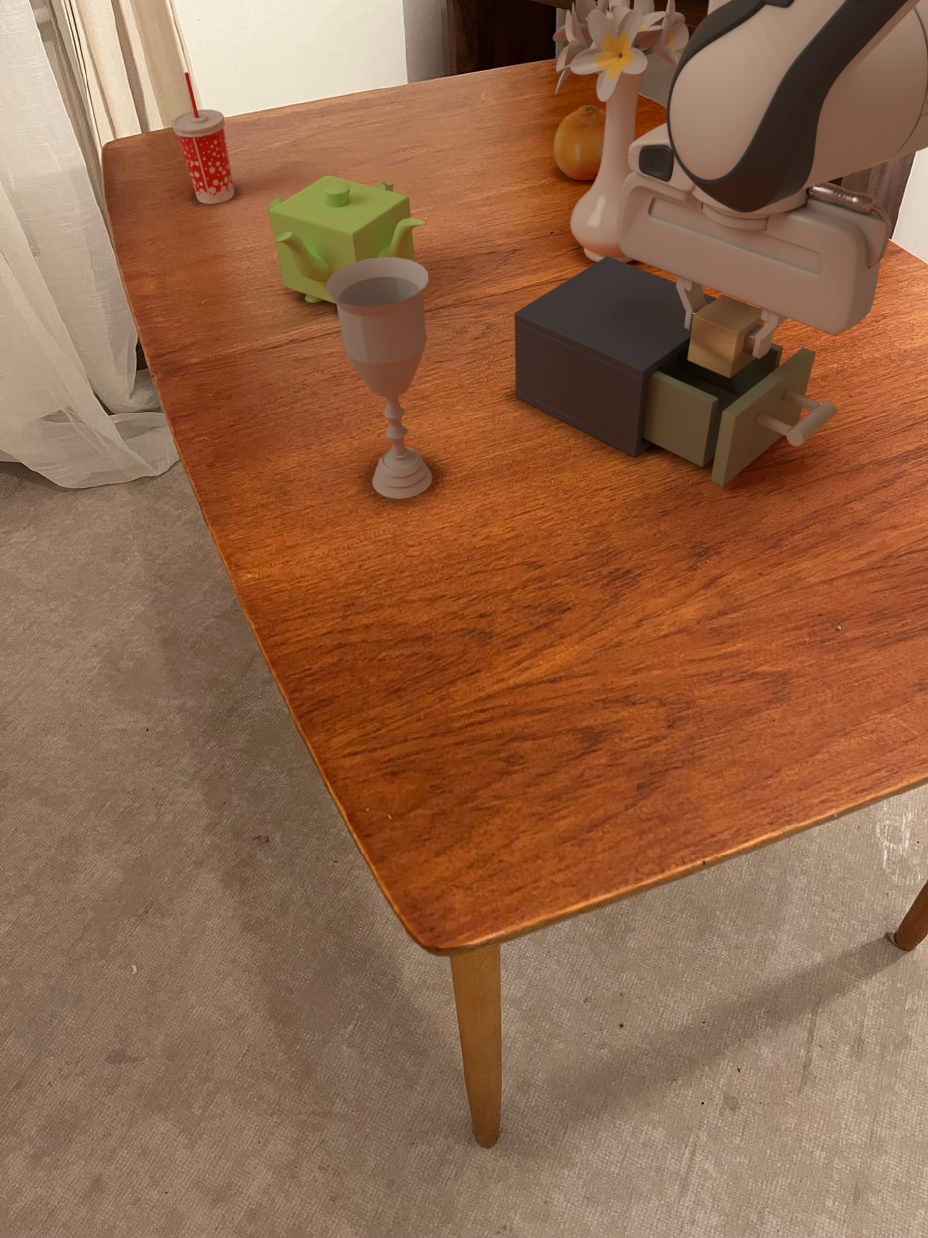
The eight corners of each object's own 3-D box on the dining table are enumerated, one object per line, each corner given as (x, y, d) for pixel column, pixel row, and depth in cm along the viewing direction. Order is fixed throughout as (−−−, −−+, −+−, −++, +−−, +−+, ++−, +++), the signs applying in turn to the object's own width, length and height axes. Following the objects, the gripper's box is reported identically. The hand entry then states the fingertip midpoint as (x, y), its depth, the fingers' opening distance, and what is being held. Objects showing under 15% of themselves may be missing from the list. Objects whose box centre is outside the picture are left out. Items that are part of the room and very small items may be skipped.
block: (758, 356, 78) (767, 311, 75) (729, 378, 76) (738, 332, 73) (715, 338, 80) (723, 294, 77) (687, 360, 78) (693, 315, 75)
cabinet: (720, 391, 89) (735, 304, 82) (635, 458, 83) (643, 370, 77) (601, 339, 95) (607, 255, 89) (515, 397, 90) (514, 312, 83)
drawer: (843, 441, 82) (864, 370, 77) (768, 510, 76) (785, 439, 71) (678, 368, 90) (687, 300, 85) (600, 426, 85) (604, 357, 80)
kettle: (432, 317, 100) (422, 209, 91) (293, 340, 98) (271, 233, 90) (405, 249, 110) (394, 145, 101) (279, 269, 108) (258, 166, 100)
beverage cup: (245, 184, 123) (219, 62, 113) (233, 206, 119) (204, 82, 109) (199, 184, 124) (168, 63, 113) (184, 206, 120) (151, 83, 109)
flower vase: (642, 205, 114) (663, -48, 96) (690, 283, 102) (725, 10, 83) (532, 218, 113) (532, -35, 95) (567, 298, 101) (575, 26, 82)
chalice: (367, 513, 80) (335, 314, 66) (352, 463, 84) (318, 267, 71) (454, 494, 81) (439, 294, 68) (434, 446, 85) (416, 249, 72)
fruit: (587, 178, 114) (607, 103, 111) (533, 167, 118) (550, 95, 116) (622, 192, 120) (642, 122, 118) (569, 182, 125) (586, 113, 122)
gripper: (922, 186, 63) (867, 370, 73) (662, 112, 73) (646, 283, 84) (873, 222, 60) (823, 409, 71) (610, 140, 70) (599, 313, 81)
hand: (725, 340), depth 77 cm, fingers closed on block, 4 cm apart
